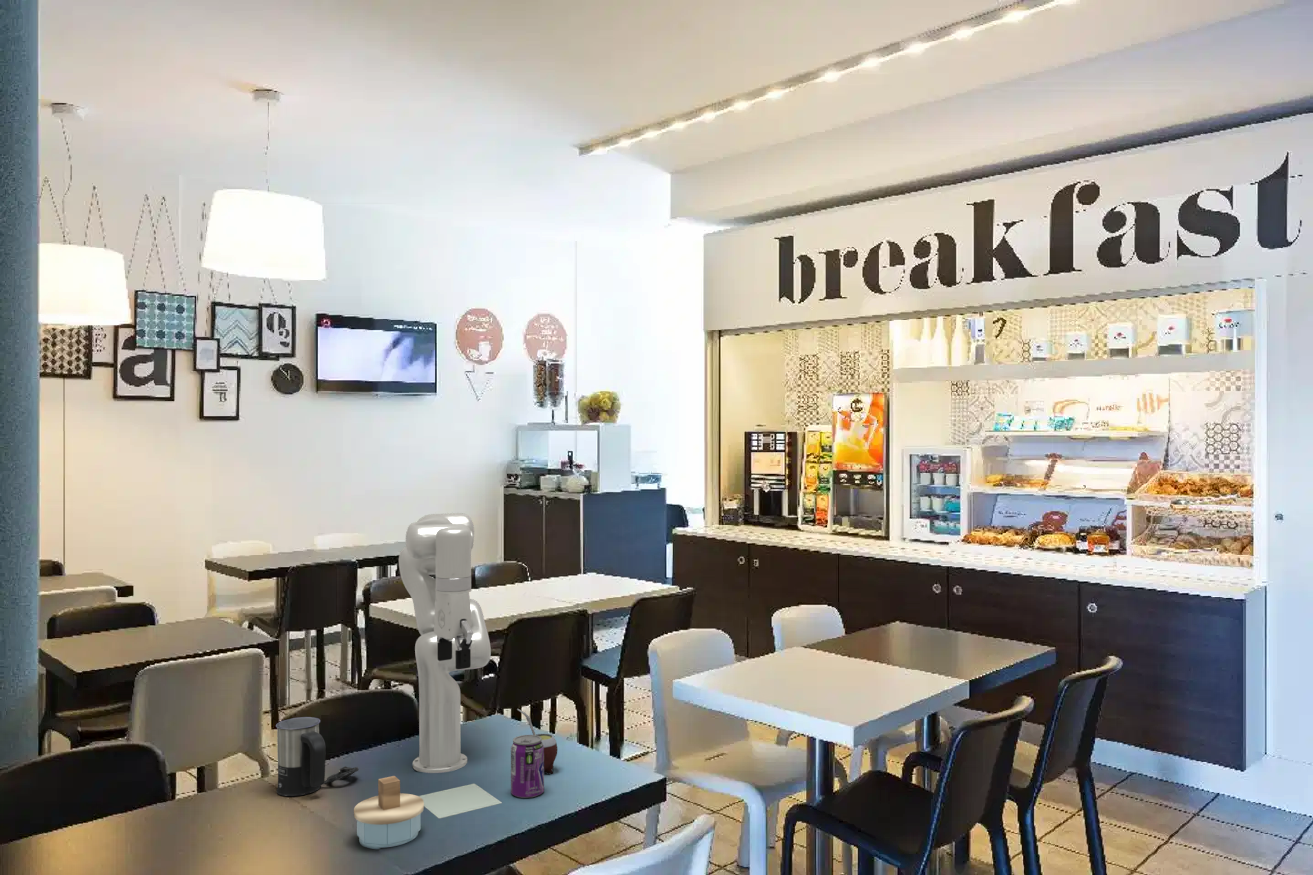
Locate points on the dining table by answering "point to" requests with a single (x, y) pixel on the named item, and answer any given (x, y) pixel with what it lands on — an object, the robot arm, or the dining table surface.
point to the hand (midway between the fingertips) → (453, 664)
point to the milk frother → (303, 757)
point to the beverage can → (527, 766)
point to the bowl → (388, 833)
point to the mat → (458, 800)
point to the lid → (388, 804)
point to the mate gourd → (546, 747)
